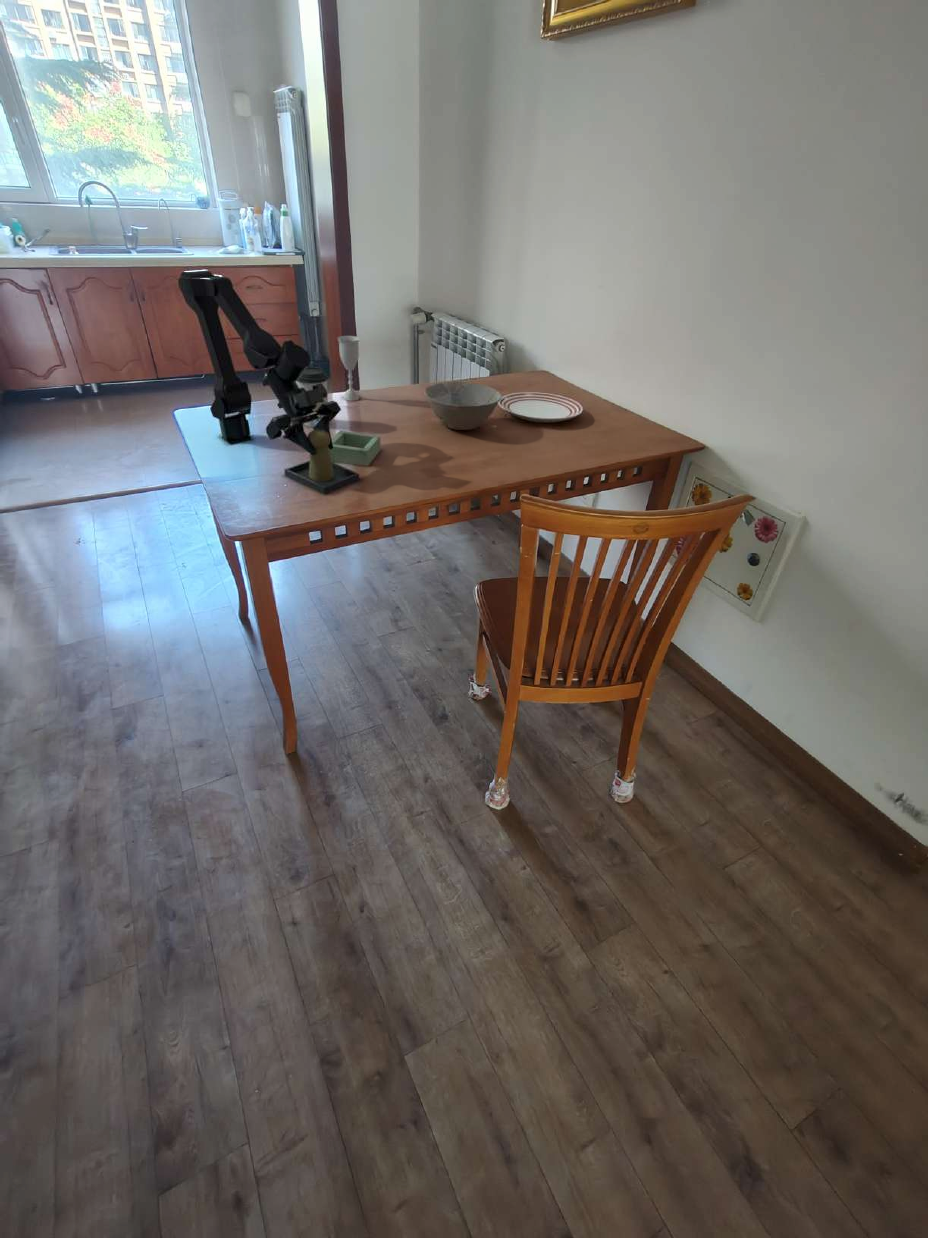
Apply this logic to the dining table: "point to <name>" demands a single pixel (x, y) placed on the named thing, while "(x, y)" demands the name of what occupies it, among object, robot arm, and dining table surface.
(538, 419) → the dinner plate
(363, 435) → the caddy
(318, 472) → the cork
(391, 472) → the dining table surface
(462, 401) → the ceramic bowl
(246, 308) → the robot arm
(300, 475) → the tray
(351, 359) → the chalice
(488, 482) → the dining table surface
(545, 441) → the dining table surface
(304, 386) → the coffee cup
